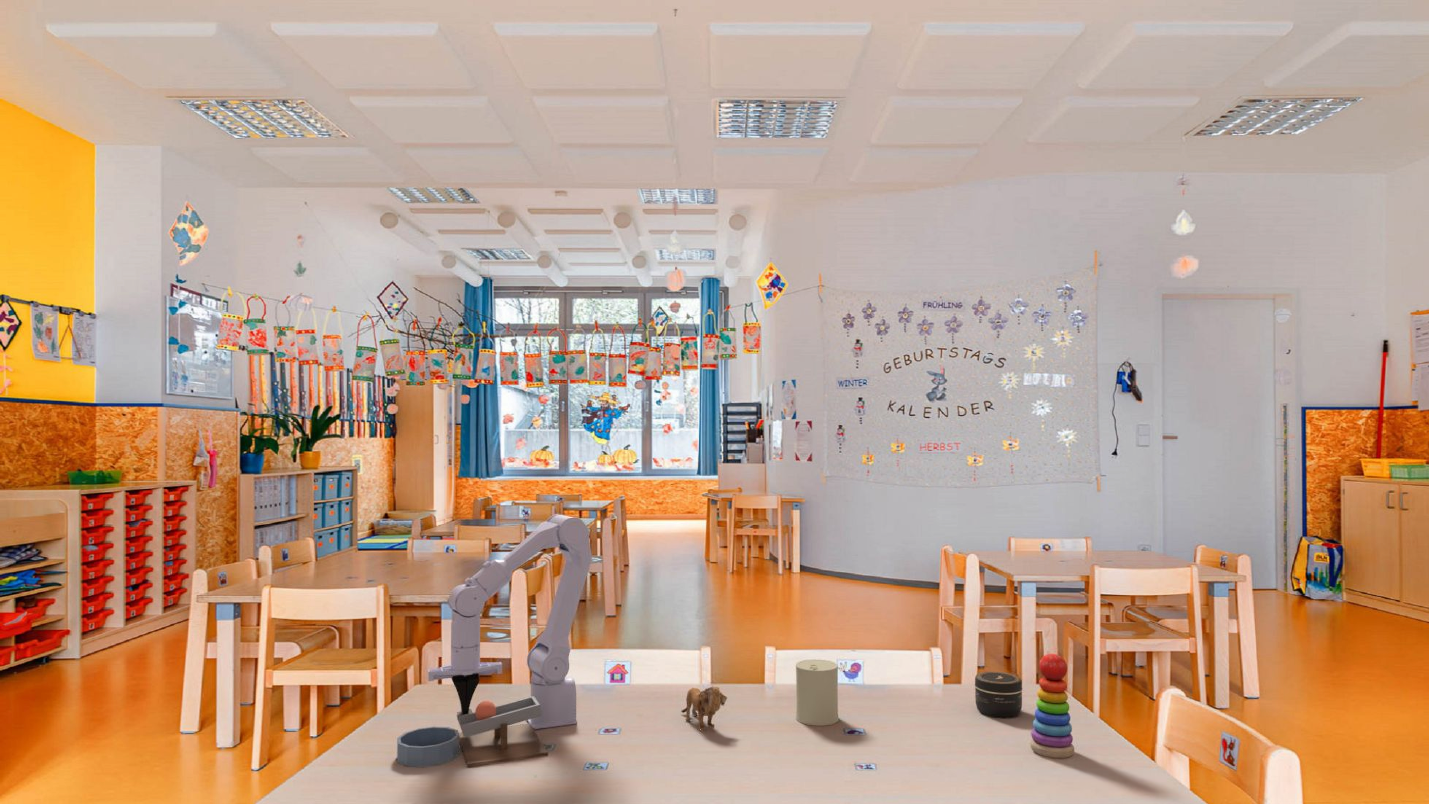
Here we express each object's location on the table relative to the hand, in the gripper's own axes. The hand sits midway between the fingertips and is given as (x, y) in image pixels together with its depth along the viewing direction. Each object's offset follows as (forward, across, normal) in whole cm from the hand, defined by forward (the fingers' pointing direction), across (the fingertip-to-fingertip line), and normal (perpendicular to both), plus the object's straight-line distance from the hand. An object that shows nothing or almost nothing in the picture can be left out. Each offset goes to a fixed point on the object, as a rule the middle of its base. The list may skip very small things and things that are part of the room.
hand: (465, 712), depth 177 cm
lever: (0, +6, -4) cm, 7 cm away
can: (+5, +72, -18) cm, 74 cm away
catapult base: (+5, +6, -7) cm, 11 cm away
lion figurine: (+5, +48, -11) cm, 49 cm away
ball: (-2, +3, -7) cm, 8 cm away
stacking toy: (+5, +104, -53) cm, 116 cm away
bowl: (+5, -8, -7) cm, 12 cm away
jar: (+5, +110, -30) cm, 115 cm away
